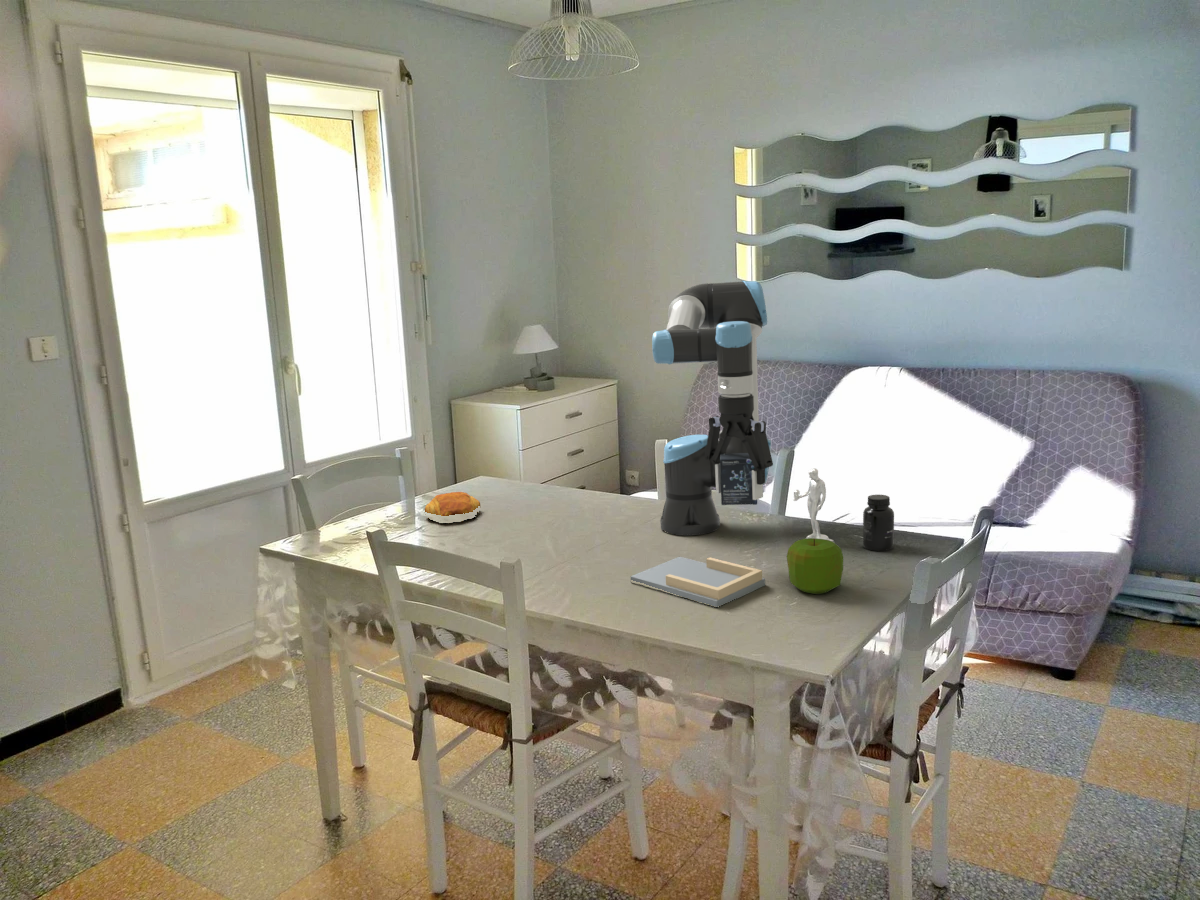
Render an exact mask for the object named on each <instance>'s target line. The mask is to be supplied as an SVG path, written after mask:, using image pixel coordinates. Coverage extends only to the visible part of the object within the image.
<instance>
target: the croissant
mask: <svg viewBox="0 0 1200 900" xmlns="http://www.w3.org/2000/svg"><path fill="white" fill-rule="evenodd" d="M478 506H480V507H481V502H480V501H479V500H478V499H476V498H475V497H474V496H472V495H469V494H468V493H467V492H464V491H452V492H448V493H441V494H437V495H435V496H434V498H433V497H432V498H431V501H429V502H428V503H427V504H426V505H425V507H424V510H425V512H427V513H431V514H436V515H441V516H449V515H455V514H463V513H464V514H465V513H469V512H473V510H475V509H476V508H478ZM425 512H424V513H425Z"/></svg>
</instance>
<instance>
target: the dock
mask: <svg viewBox="0 0 1200 900" xmlns="http://www.w3.org/2000/svg"><path fill="white" fill-rule="evenodd" d="M631 580H633V581H636V582H640V583H644V584H646V585H649V586H652V587H655V588H658V589H662V590H664V591H667V592H670V593H673V594H676V595H679V596H682V597H685V598H689V599H692V600H695V601H698V602H702V603H706V604H709V605H712V606H715V607H718V606H720V605H723V604H725V603H727V602H729V603H731V602H733V601H735V600H737V599H739V598H742V597H744V596H745V595H748V594H750V593H752V592H754V591H755V590H758V589H760V588H762V587H765V586H766V578H764V577H763V570H762V569H759V568H758V569H757V568H755V567H750V566H745V565H742V564H738V563H734V562H729V561H726V560H723V559H722V560H721V559H717V558H714V557H711V556H710V557H708V558H706V559H705V562H702V561H698V560H695V559H690V558H688V557H683V556H678V557H675V558H672V559H670V560H668V561H665V562H663V563H660V564H657V565H655V566H652V567H650V568H647V569H645V570H643V571H640V572H638V573H636V574H633V575H631V576H630V581H631ZM736 598H737V599H736ZM734 599H735V600H734ZM732 600H733V601H732ZM730 601H731V602H730ZM727 604H728V603H727ZM725 605H726V604H725ZM723 606H724V605H723ZM720 607H721V606H720ZM718 608H719V607H718Z"/></svg>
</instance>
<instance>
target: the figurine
mask: <svg viewBox="0 0 1200 900" xmlns="http://www.w3.org/2000/svg"><path fill="white" fill-rule="evenodd" d="M808 475H809V478H810V481H809V483H808V484H809V485H808V489H807V490H806V492H804V493H802V494H801V495H800V492H801V491H800V490H799V489H795V490H794V491H793V498H794V499H792V500H793V502H797V501H798V500H799V499H802V498H805V497H807V504H806V505H807V510H808V513H809V518H810V525H811V529H812V533H811V534H808V535H807V536H806V538H817V539H825V540H829V541H832V542H834V543H835V544H836V542H835V540H834V539H831V538H829V536H828V535H826V534H822V533H821V529H820V523H819V521H818V519H817V515H818V512H819V511H821V509H822V507H823V505H824V503H825V501H826V498H827V494H826V493H827V487H826V483H825V481H824V480H823V479H822V478H821V477H819V470H818V469H817V468H811V469H809V470H808ZM821 495H822V497H821ZM806 538H804V539H806Z"/></svg>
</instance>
